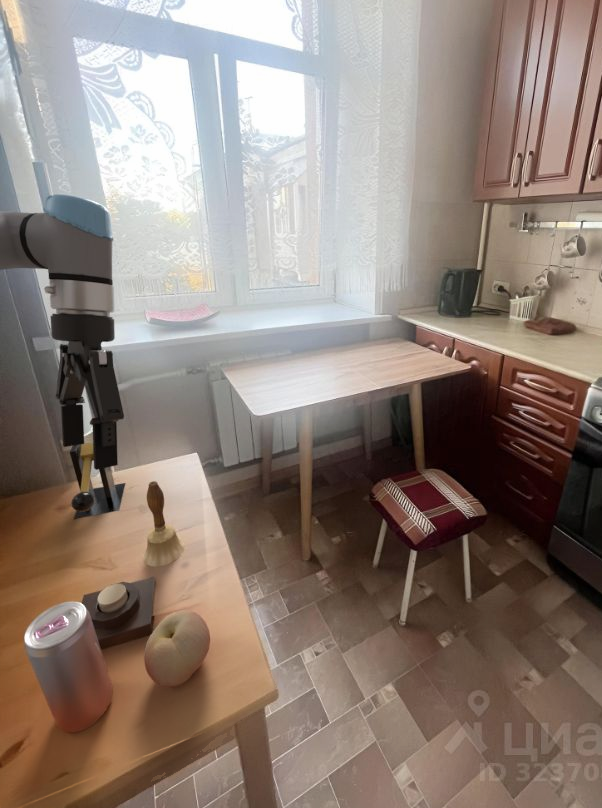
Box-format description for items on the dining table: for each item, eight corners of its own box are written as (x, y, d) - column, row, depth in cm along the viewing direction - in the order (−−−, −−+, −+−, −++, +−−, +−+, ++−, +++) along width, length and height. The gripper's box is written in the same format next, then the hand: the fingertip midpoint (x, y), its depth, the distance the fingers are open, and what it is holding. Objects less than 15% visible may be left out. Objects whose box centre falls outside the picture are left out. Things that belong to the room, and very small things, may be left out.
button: (97, 616, 57) (95, 607, 56) (102, 596, 60) (99, 587, 59) (126, 608, 58) (124, 599, 57) (129, 589, 61) (127, 580, 60)
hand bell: (184, 533, 77) (172, 464, 71) (194, 561, 71) (182, 488, 65) (136, 550, 73) (120, 478, 67) (142, 582, 66) (125, 505, 60)
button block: (72, 659, 54) (65, 639, 53) (86, 604, 62) (80, 586, 61) (152, 634, 58) (148, 615, 57) (156, 586, 66) (153, 568, 64)
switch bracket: (120, 515, 81) (105, 453, 76) (74, 524, 78) (55, 461, 73) (126, 487, 90) (113, 430, 84) (85, 494, 87) (69, 435, 81)
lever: (96, 512, 73) (91, 503, 71) (73, 517, 72) (67, 508, 70) (102, 449, 82) (97, 439, 79) (81, 452, 81) (76, 442, 78)
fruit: (142, 662, 54) (132, 621, 51) (201, 628, 59) (194, 589, 56) (158, 713, 49) (148, 671, 46) (221, 671, 54) (215, 630, 51)
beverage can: (52, 706, 49) (18, 622, 44) (106, 671, 53) (81, 590, 48) (62, 748, 45) (25, 662, 40) (120, 708, 49) (94, 624, 44)
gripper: (27, 309, 61) (34, 441, 64) (83, 313, 46) (89, 485, 49) (83, 313, 67) (88, 433, 70) (149, 317, 52) (151, 471, 55)
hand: (88, 455), depth 59 cm, fingers open, 13 cm apart
